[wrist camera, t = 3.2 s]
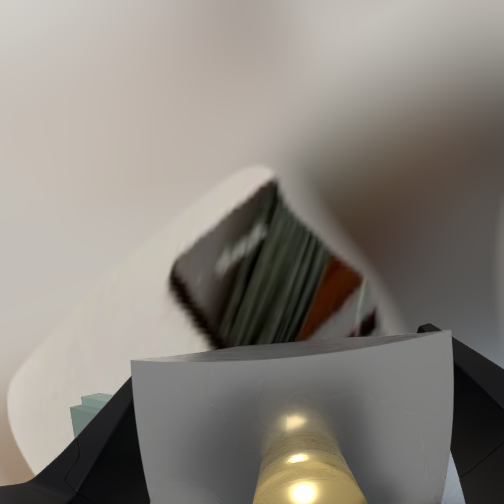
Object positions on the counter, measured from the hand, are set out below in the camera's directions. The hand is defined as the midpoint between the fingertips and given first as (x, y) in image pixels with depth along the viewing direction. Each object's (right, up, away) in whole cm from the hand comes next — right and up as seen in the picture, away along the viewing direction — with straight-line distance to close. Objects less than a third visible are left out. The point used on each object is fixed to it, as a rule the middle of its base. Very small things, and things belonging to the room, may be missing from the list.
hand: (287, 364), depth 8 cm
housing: (+1, -4, +6) cm, 7 cm away
